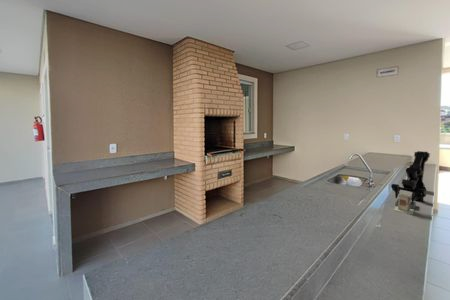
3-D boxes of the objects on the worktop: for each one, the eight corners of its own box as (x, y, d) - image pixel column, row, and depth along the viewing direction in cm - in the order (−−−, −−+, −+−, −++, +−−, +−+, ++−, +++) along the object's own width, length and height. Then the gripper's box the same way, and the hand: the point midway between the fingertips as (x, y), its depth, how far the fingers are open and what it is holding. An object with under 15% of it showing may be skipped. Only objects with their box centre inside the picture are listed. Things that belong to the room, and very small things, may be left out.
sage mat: (395, 207, 160) (395, 206, 160) (413, 210, 153) (413, 209, 153) (393, 211, 153) (393, 209, 153) (412, 214, 146) (412, 213, 146)
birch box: (401, 207, 156) (402, 194, 155) (409, 210, 152) (410, 196, 151) (397, 209, 154) (398, 195, 153) (406, 211, 149) (407, 197, 148)
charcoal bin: (397, 202, 169) (397, 199, 169) (415, 206, 162) (416, 202, 161) (395, 206, 161) (395, 202, 161) (414, 210, 154) (414, 206, 154)
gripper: (392, 172, 161) (384, 190, 156) (426, 177, 145) (418, 196, 140) (396, 181, 166) (389, 198, 161) (429, 187, 150) (422, 206, 145)
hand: (403, 199), depth 152 cm, fingers open, 9 cm apart
